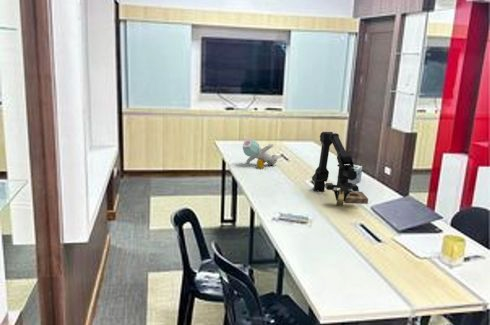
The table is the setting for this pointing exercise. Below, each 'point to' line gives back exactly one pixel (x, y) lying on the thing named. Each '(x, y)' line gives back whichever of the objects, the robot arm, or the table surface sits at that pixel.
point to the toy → (258, 153)
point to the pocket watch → (353, 183)
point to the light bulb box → (358, 172)
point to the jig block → (356, 197)
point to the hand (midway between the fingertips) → (340, 200)
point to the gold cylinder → (340, 198)
